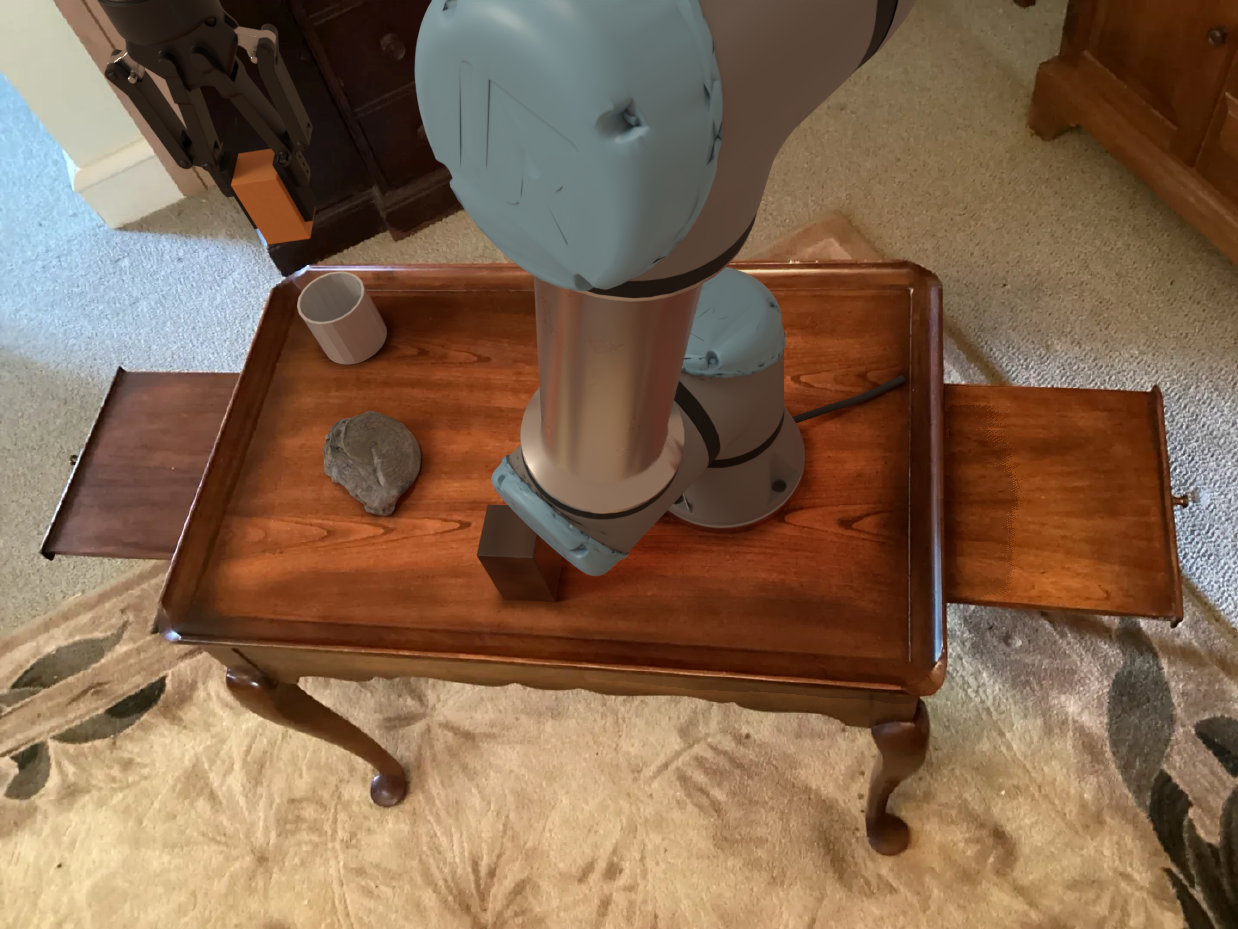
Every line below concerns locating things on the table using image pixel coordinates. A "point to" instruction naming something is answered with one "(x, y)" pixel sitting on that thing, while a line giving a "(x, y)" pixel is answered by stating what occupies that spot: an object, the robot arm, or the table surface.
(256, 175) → the orange block
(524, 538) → the dark brown block
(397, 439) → the fossilized seashell
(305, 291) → the plain cylindrical cup
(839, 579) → the table surface
